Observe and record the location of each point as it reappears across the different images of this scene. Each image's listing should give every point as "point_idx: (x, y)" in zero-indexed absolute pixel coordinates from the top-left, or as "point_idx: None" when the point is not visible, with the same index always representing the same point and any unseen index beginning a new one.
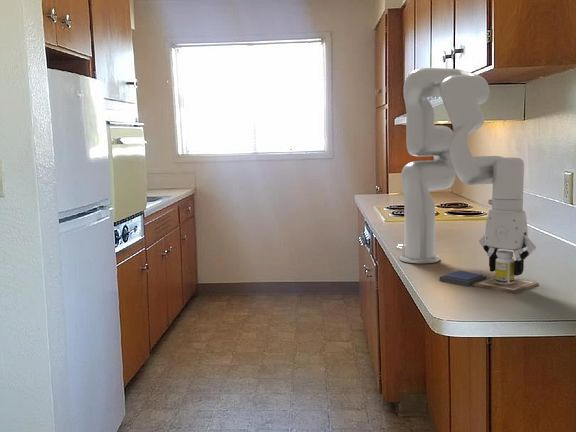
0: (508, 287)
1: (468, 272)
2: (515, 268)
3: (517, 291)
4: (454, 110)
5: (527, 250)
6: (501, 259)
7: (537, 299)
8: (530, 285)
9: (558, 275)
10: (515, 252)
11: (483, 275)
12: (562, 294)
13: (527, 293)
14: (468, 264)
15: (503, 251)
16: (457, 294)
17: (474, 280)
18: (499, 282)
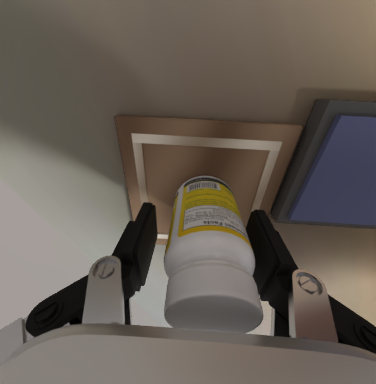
0: (164, 153)
1: (346, 219)
2: (139, 221)
3: (118, 131)
4: None
5: (17, 342)
6: (213, 252)
7: (18, 90)
8: (133, 212)
9: (157, 301)
10: (109, 310)
11: (287, 222)
12: (41, 196)
13: (98, 147)
14: (346, 300)
15: (223, 320)
16: None
17: (305, 152)
18: (209, 176)
